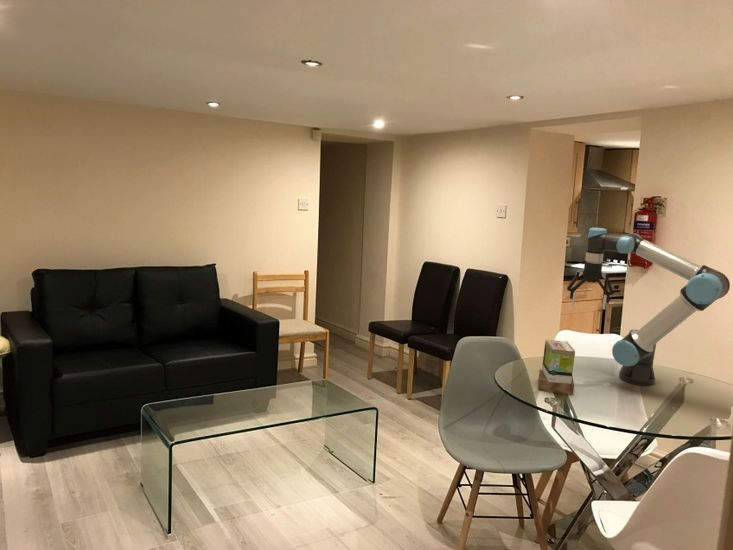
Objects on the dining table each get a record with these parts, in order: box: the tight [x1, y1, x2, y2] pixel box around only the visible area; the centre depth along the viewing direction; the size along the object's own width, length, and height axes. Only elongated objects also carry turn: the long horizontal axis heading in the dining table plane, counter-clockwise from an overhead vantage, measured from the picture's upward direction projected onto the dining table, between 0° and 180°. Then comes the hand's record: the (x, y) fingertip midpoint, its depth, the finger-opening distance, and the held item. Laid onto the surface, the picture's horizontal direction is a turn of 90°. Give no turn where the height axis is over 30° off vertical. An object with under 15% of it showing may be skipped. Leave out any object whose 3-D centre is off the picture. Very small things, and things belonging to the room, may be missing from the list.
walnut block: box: [538, 369, 575, 396], centre depth 258 cm, size 14×14×5 cm
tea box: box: [541, 339, 576, 384], centre depth 256 cm, size 15×10×15 cm
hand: (587, 307), depth 272 cm, fingers open, 13 cm apart
